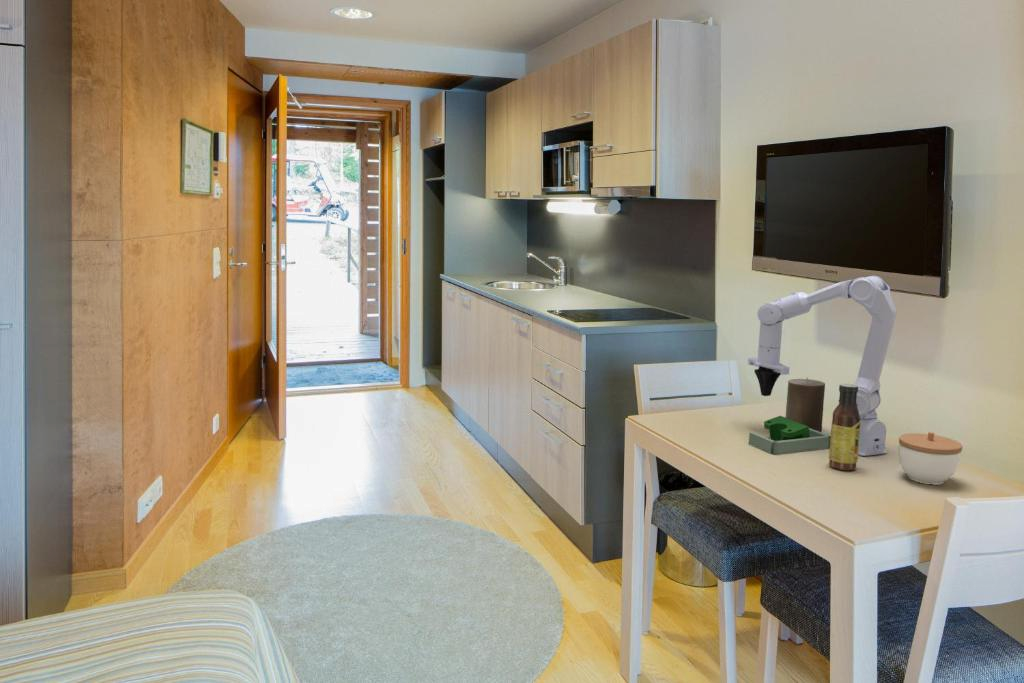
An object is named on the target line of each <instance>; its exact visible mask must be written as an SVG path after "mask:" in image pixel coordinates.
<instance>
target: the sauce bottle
mask: <svg viewBox="0 0 1024 683" xmlns="http://www.w3.org/2000/svg"><path fill="white" fill-rule="evenodd" d="M838 390H839V396H838V397H839V399H838V404H837V406H835V408H834V410H833V412H832V421H831V422H832V423H831V427H830V436H831V438H830V448H829V452H828V454H829V455H828V460H829V463H828V464H829V466H830V467H831V468H833V469H836V470H841V471H851V470H852V471H853V470H855V469H856V468H857V463H858V460H859V459H858V458H859V457H858V456H859V454H858V448H859V437H860V423H861V419H860V415H859V411H858V408H857V404H856V403H857V402H856V398H857V392H858V386H857V385H854V383H853V384H850V383H840V384H839V388H838Z"/></svg>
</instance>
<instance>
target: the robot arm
mask: <svg viewBox="0 0 1024 683" xmlns="http://www.w3.org/2000/svg"><path fill="white" fill-rule="evenodd" d="M790 294H791V295H787V296H785V297H782V298H780V297H777V298H775V299H774V302H773V301H772V302H765V303H764V304H762V305H761V306H760V307H759V308H758V310H757V318H758V320H759V321H760V322H759V323H760V325H759V332H758V333H759V335H758V346H757V347H758V350H757V357H748V359H747V365H748V366H754V367H757V368H758V369H756V368H755V369H754V374H755V376H756V378H757V381H758V384H759V389H760V394H761V396H764V397H769V396H772V392H773V389H774V386H775V384H776V382H777V381H778V379H779V378H780V376H784V375H785V376H786V375H790V367H789V366H787V365H784V364H782V363H781V360H780V359H781V345H782V335H783V330H782V329H783V322H784V321H786V320H789V319H792V318H796V317H798V316H801V315H804V314H807V313H810V311H811V309H812V307H813V306H814V305H817V304H818V305H819V304H821V303H824V302H827V301H831V300H835V299H838V298H839V297H841V298H844V299H847V300H849V299H852V301H854V302H856V303H857V304H858V305H860V306H862V307H864V309H866V311H867V313H869V315H870V316H871V322H870V327H869V330H868V333H867V334H868V335H867V338H866V341H865V342H866V343H865V346H864V349H863V354H862V358H861V362H860V366H859V369H858V374H857V377H856V379H855V381H854V382H853V385H857V386H858V392H857V398H856V402H857V403H856V404H857V408H858V411H859V415H860V419H861V423H860V437H859V448H858V456H862V457H868V456H873V455H874V456H875V455H883V454H884V455H885V454H887V453H888V452H887V451H886V450H885V448H886V436H887V427H886V424H885V423H884V422H882V421H880V420H879V418H878V413H877V411H876V410H877V409H878V407H880V405H881V401H882V399H881V398H882V397H881V394H880V389H881V383H880V378H881V374H882V371H883V366H884V363H885V359H886V355H887V351H888V347H889V344H890V339H891V336H892V331H893V328H894V324H895V320H896V316H897V309H896V306H895V304H894V300H893V297H892V295H891V287H890V286H889V285H888V284H887V283H886V282H885V281H884V279H882V278H881V277H880V276H877V275H869V276H866V277H863V276H862V277H858V278H855V279H849V280H844V281H840V282H837V283H834V284H830V285H828V286H826V287H824V288H820V289H819V290H815V291H813V292H811V293H806V292H803V291H799V292H798V291H793V292H791V293H790Z"/></svg>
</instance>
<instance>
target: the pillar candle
mask: <svg viewBox="0 0 1024 683" xmlns="http://www.w3.org/2000/svg"><path fill="white" fill-rule="evenodd" d="M825 392H826V383H825V382H824V381H821V380H816V379H808V377H806V378H791V379H789V380H787V393H786V394H787V395H786V404H785V405H786V407H785V416H784V417H785V418H788V419H790V420H793V421H795V422H798V423H800V424H803V425H806V426H808V427H809V428H811V429H813V430H816V431H819V432H822V430H823V429H822V428H823V416H824V405H825V404H824V403H825V401H824V400H825Z"/></svg>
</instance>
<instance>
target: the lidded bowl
mask: <svg viewBox="0 0 1024 683" xmlns="http://www.w3.org/2000/svg"><path fill="white" fill-rule="evenodd" d="M898 443H899V445H898V458H899V464H900V466H901V468H902V471H904V472H905V474H906V475H907V476H908V478H909V480H911V481H913V480H914V481H913V482H916V483H919V482H920V484H923V483H924V484H923V485H929V484H933V486H937V485H939V486H941V485H943V484H945V482H946V481H948V480H949V479H951V478H952V477H953V476H954V475H955V474H956V472H957V470H958V468H959V464H960V460H961V455H962V454H961V453H962V451H963V444H962V443H961V442H959V441H957V440H955V439H952V438H949V437H946V436H942V435H936V434H935V432H933V431H928V433H919V432H918V433H915V432H914V433H912V432H911V433H904V434H901V435H900V436H899V438H898Z"/></svg>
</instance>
